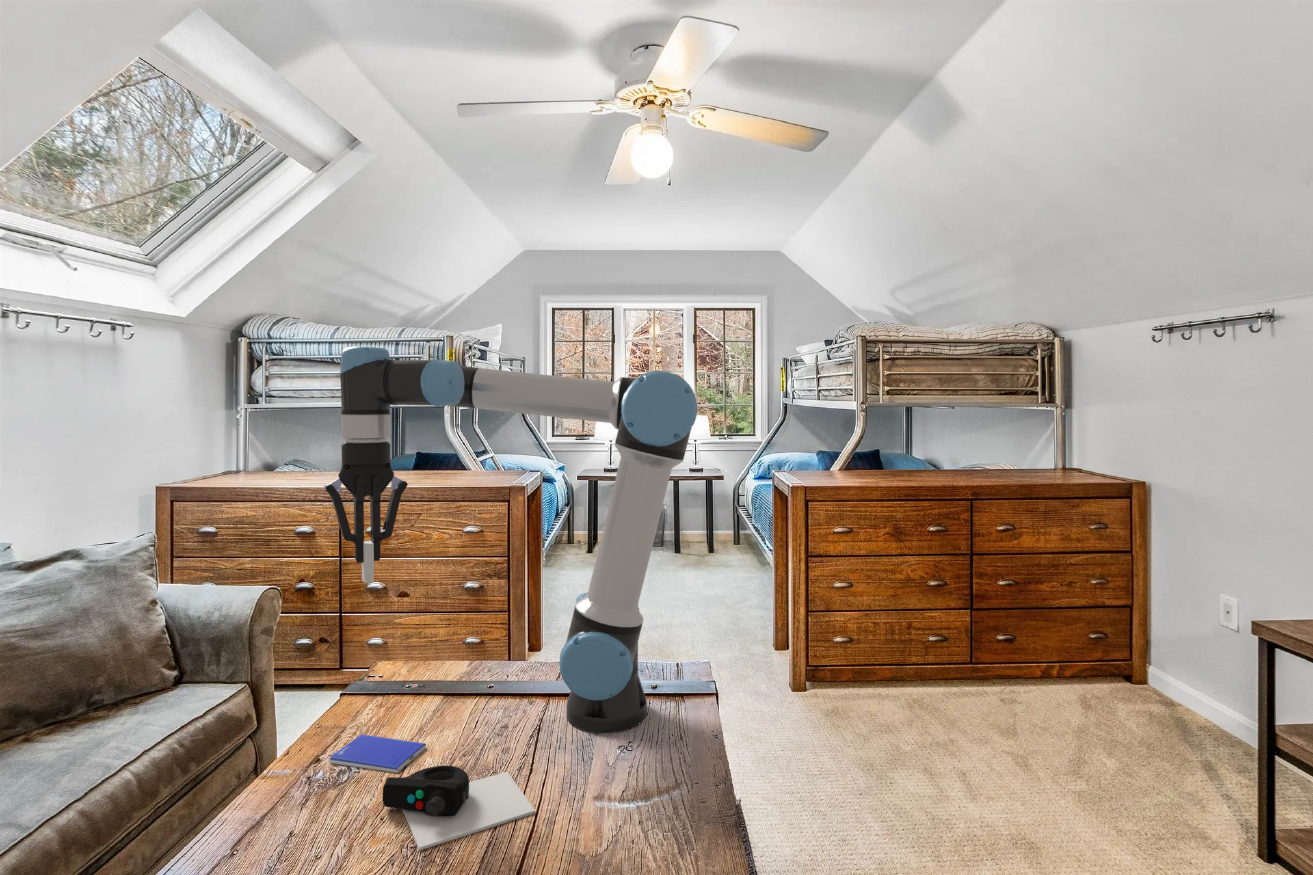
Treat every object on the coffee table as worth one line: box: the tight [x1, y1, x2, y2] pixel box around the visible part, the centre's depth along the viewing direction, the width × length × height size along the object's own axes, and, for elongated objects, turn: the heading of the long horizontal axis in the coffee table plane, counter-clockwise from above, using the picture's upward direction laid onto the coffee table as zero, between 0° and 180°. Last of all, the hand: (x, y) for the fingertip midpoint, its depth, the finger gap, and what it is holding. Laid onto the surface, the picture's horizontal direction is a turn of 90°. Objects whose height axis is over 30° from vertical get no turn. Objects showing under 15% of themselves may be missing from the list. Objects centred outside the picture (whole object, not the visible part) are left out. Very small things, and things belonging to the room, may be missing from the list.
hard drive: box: [329, 734, 427, 774], centre depth 113 cm, size 2×8×12 cm
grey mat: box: [401, 771, 536, 851], centre depth 98 cm, size 16×12×1 cm
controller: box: [382, 765, 470, 817], centre depth 98 cm, size 4×12×10 cm
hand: (368, 580), depth 114 cm, fingers closed
